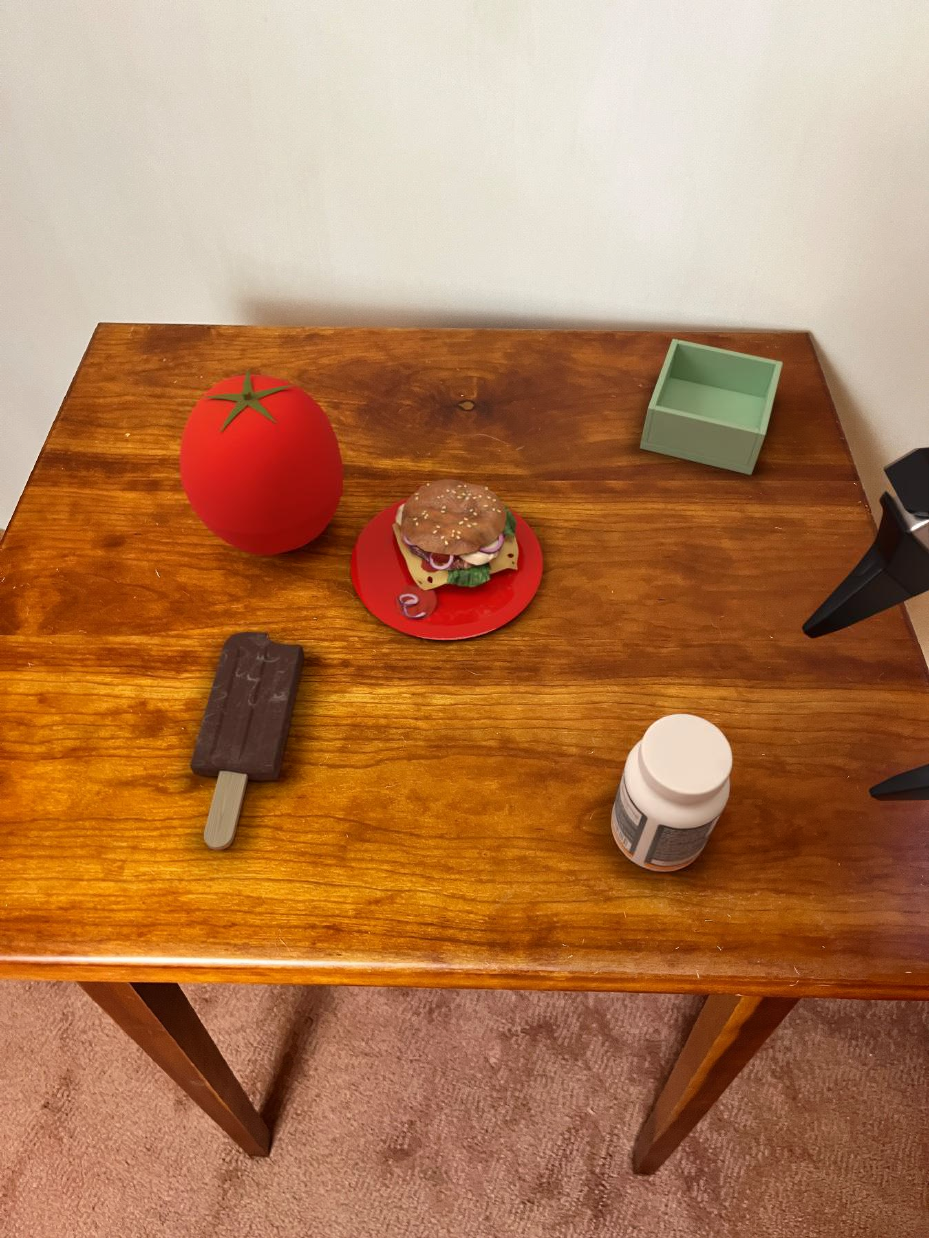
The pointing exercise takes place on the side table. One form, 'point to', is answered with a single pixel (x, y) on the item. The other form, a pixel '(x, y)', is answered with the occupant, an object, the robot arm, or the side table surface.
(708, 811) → the pill bottle
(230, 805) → the ice cream bar
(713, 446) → the green storage bin
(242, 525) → the tomato
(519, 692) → the side table surface
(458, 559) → the hamburger
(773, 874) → the side table surface
